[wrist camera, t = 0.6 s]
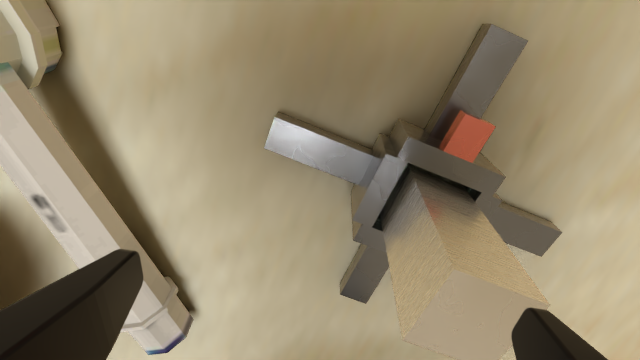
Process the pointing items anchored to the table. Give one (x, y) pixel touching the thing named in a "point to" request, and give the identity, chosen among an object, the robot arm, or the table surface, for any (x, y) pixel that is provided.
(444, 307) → the column
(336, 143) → the stand
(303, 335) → the table surface
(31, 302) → the robot arm
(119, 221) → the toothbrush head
